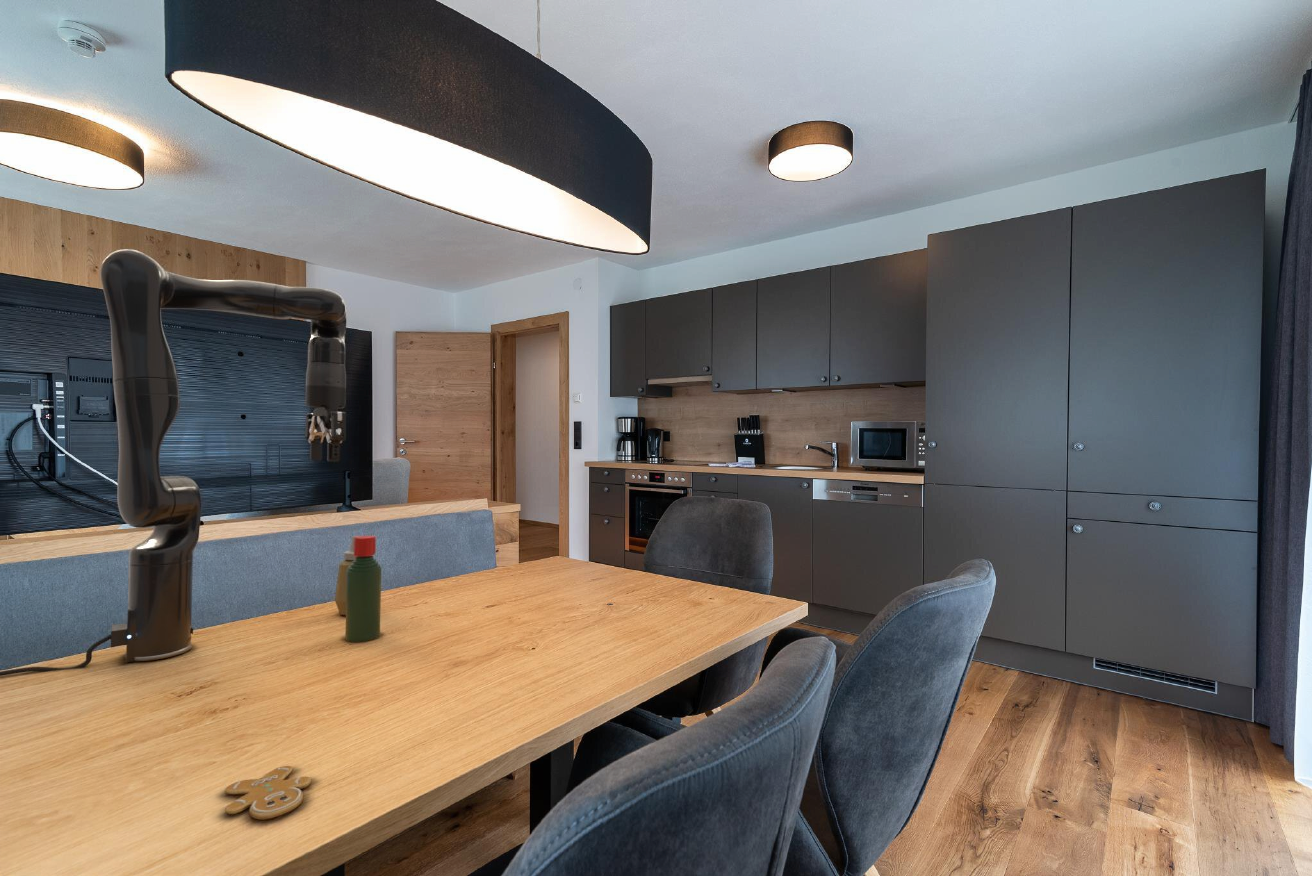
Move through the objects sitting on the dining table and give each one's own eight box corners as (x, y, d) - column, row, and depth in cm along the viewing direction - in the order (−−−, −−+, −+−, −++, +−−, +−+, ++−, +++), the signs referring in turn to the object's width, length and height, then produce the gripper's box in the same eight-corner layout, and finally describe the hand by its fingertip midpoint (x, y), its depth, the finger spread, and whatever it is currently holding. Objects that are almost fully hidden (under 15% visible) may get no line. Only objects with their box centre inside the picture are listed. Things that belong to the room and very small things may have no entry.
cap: (371, 552, 123) (372, 535, 123) (377, 555, 120) (377, 537, 120) (351, 554, 120) (351, 536, 120) (357, 557, 117) (357, 539, 117)
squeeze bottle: (379, 611, 138) (381, 535, 138) (346, 619, 131) (348, 539, 131) (360, 606, 142) (361, 532, 143) (327, 613, 135) (328, 536, 136)
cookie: (297, 757, 72) (326, 789, 65) (296, 765, 72) (325, 798, 65) (214, 786, 65) (236, 824, 59) (214, 794, 65) (236, 834, 59)
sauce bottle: (350, 644, 115) (352, 543, 115) (341, 636, 120) (343, 539, 120) (384, 637, 119) (386, 540, 120) (374, 630, 124) (376, 536, 124)
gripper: (359, 385, 123) (358, 461, 122) (330, 388, 131) (328, 460, 131) (321, 381, 117) (319, 462, 116) (293, 385, 126) (291, 460, 125)
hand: (324, 461), depth 124 cm, fingers open, 8 cm apart
